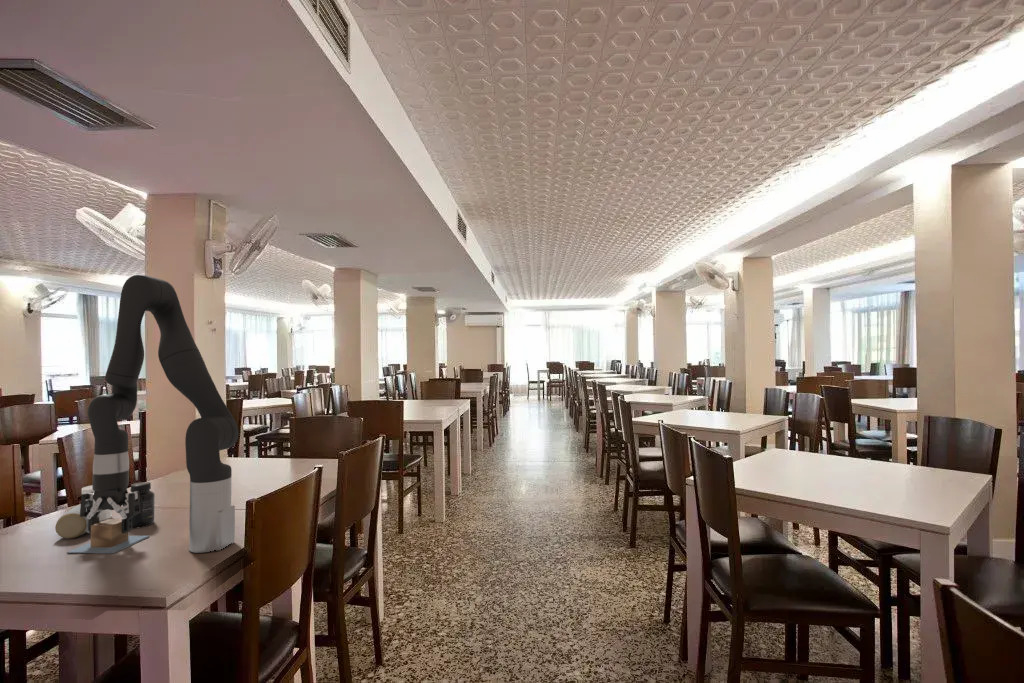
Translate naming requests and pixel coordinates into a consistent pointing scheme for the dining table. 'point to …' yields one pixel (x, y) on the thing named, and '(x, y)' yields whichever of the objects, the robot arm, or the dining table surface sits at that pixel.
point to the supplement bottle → (144, 505)
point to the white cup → (104, 513)
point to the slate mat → (114, 549)
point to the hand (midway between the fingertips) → (110, 532)
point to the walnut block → (108, 533)
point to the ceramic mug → (72, 524)
